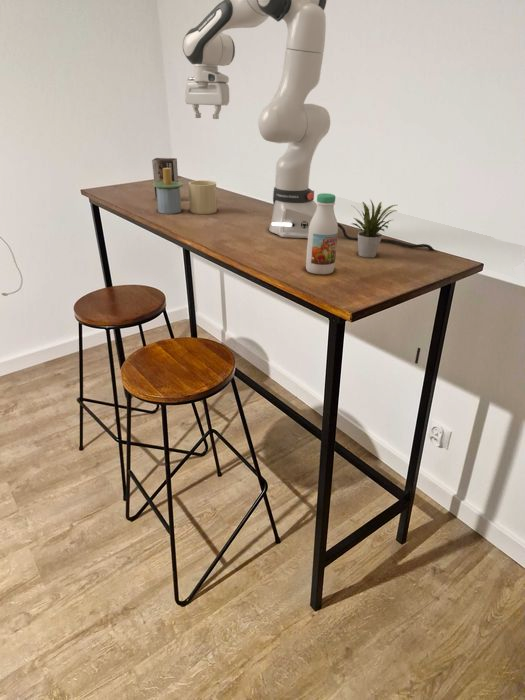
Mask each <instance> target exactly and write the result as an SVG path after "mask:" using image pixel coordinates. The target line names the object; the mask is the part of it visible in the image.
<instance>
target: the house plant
mask: <svg viewBox="0 0 525 700" xmlns="http://www.w3.org/2000/svg"><path fill="white" fill-rule="evenodd" d="M369 200H370V203H371V209H370V208H369V207H368V206H367V204H366V203H365V202H364V201H362V205H363V210H364V211H361V212H362V214H361V212H360V211H359V210H358V209H357V208H356V207H355V206H353V205H352V207H353V208H354V209H355V210H357V212H358V213H359V215H360V216H361V218H362V220H363V222H362V221H361V220H359V219H358V218H357V217H353V219H354V220H355V221H356V223H353V222H352V223H351V225H353V226H356V227H358V228H359V229H360V231H359V232H358V233H357V238H358V240H357V252H358V253H357V255H358V256H359V257H362V258H368V259H369V258H375V257H377V254H378V250H379V247H380V244H381V239H383V234H382V233H379V232H380V231H383V232H384V233H385V228H386V229H389V226H388V225H389V224H390V223H389V222H391V221H393V219H389V220H387V221H385V219H386V218H387V217H388V216H390V215H391V214H392V213H394V212H398V210H396V209H391V208H393V207H396V206H397V204H392V205H390V206H387V208H385V209H384V210H383V209H382V201H380V202H379V203H378V205H377V207H376V209H375V205H374V203H373V201H372V199H369ZM370 210H371V214H370ZM387 224H388V225H387Z"/></svg>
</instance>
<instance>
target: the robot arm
mask: <svg viewBox="0 0 525 700" xmlns="http://www.w3.org/2000/svg"><path fill="white" fill-rule="evenodd" d="M327 1H328V0H222V1H220V2H219V3H218V4H217V5H216V6H215V7H214V8H213V9H212V10H211V11H210V12H209V13H208V14H207V15H206V16H205V17H204V18H203V19H202V20H201V21H200V23H199V24H197V25H196V26H195V27H192V28H191V29H188V31H187V32H186V34H185V36H184V37H183V40H182V51H183V54H184V56H185V58H186V59H187V60H188V61H189V62H190V64H192V65H193V77H192V76H189V77H188V78H187V80H186V81H185V82H186V83H185V89H184V101H185V104H186V105H192V110H193V112H194V117H195V119H201V118H202V113H201V112H200V110H199V108H200V106H201V105H202V106H214V109H215V110H214V113H212V119H213V120H219V119H220V113H221V110H222V106H228V105H229V104H230V86H229V84H228V83H229V80H230V79H229V76H228V75H226V74H224V73H221V72H220V71H219V66H220V67H221V66H222V67H225V66H230V64H231V63H232V62H233V61H234V58H235V57H236V56H235V55H236V45H235V42H234V40H233V38H232V37H231V36H230V35H229V34H226V33H224V31H227V30H232V29H251V28H256V27H259V26H261V25H262V24H264V23H265V22H266V21H267V20H269V18H272V19H274V20H275V21H276V22H278V23H279V22H281V21H282V20H284V22H285V24H286V27H287V35H286V42H285V50H284V59H283V65H282V72H281V78H280V82H279V84H278V87H277V90H276V92H275V94H274V95H273V97H272V99H271V100H270V101H269V103H268V104H267V105H266V106H265V107H264V108H263V109H262V110H261V111H260V114H259V117H258V120H257V121H258V122H257V125H258V132H259V133H260V136H261V137H262V139H263V140H265V141H266V142H269V143H270V142H271V143H274V144H288V145H287V148H286V150H285V152H284V153H283V154H282V155H281V157H279V158H278V160H277V161H276V164H275V177H274V178H275V179H274V184H275V185H274V187H273V191H272V202H273V209H272V216H271V221H270V223H269V227H268V230H269V232H270V233H273V234H276V235H278V236H279V237H280V238H288V239H289V238H294V239H308V233H309V226H310V222H311V220H312V218H313V216H314V214H315V212H316V209H317V202H316V201H314V199H315V190H314V189H313V190H312V189H311V188H309V184H310V176H311V175H310V174H311V166H312V161H313V158H314V155H315V152H316V150H317V148H318V146H319V144H320V143H321V141H322V140H323V139H324V138H325V137H326V136H327V134H328V133H329V130H330V127H331V115H330V113H329V111H328V109H326V107H324V106H321V105H318V104H315V103H305V101H306V99H307V97H308V96H309V94H310V93H311V92H312V91H313V90H314V89H315V88H316V87H317V86H318V84H319V83H320V79H321V73H322V72H321V71H322V66H323V61H324V60H323V59H324V52H325V43H326V31H327V27H326V26H327V24H326V23H327V22H326V13H325V9H326V5H327ZM337 224H338V228H339V229H340V230H341V232H342V235H343V236H344V237H345V238H346V239H347V240H350V241H358V237H353V236H350V235H348V234H347V231H346V229H345V227H344V226H343V225H342V224H340V223H339V222H337ZM381 242H384V243H391V244H396V245H400V246H404V247H407V248H414V249H416V248H427V249H428V250H430V252H435V249H434V247H432V246H431V245H430V244H427V243H420V244H412V243H406V242H403V241H399V240H396V239H390V238H381V241H380V243H381ZM420 354H421V347H417V350H416V355H415V360H414V364H416V365H417V364H419V358H420Z"/></svg>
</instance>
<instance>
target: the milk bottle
mask: <svg viewBox="0 0 525 700" xmlns="http://www.w3.org/2000/svg"><path fill="white" fill-rule="evenodd" d="M335 202H336V195H335V194H333V193H326V192H325V193H324V192H323V193H322V192H321V193H318V194H317V196H316V204H317V209H316V212H315V214H314V216H313V218H312V220H311V222H310V226H309V233H308V238H307V245H306V257H305V258H306V260H305V270H306V271H307V272H308V273H310V274H315V275H330V274H332V273H333V272H334V271H335V266H336V265H335V264H336V255H337V245H338V236H339V235H338V233H339V227H338V224H337V223H338V220H337V217H336V214H335V209H334V206H335V205H336V203H335Z"/></svg>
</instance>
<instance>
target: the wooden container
mask: <svg viewBox="0 0 525 700" xmlns="http://www.w3.org/2000/svg"><path fill="white" fill-rule="evenodd" d="M188 198H189V212H190V213H192V214H197V215H211V214H214V213H216V212H217V210H218V204H217V203H218V202H217V201H218V200H217V199H218V198H217V182H216V181H213V180H192V181H189V182H188Z"/></svg>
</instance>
